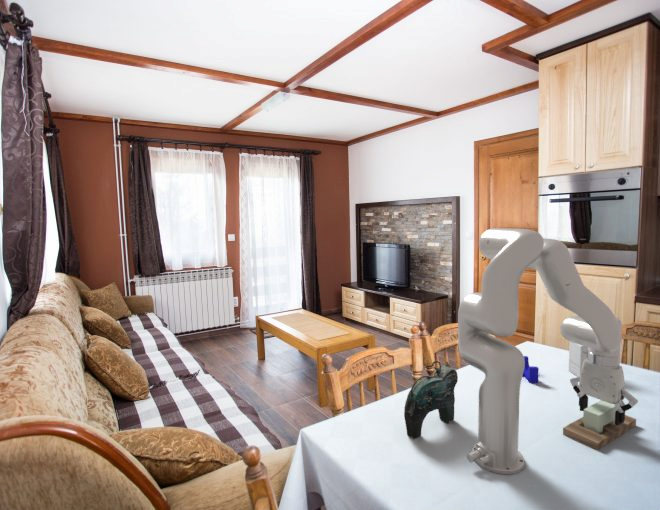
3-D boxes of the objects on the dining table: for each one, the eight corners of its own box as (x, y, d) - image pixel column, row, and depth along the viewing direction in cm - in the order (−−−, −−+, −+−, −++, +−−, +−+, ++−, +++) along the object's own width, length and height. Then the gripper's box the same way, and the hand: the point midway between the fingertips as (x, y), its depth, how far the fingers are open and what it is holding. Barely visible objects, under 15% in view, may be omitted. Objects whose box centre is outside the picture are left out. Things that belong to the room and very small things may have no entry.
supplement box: (599, 378, 146) (600, 345, 145) (579, 378, 146) (580, 346, 145) (586, 370, 153) (587, 339, 152) (567, 370, 153) (568, 339, 152)
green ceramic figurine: (446, 412, 124) (446, 352, 122) (462, 421, 119) (463, 358, 117) (400, 433, 114) (400, 368, 111) (417, 444, 108) (416, 375, 106)
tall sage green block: (597, 439, 108) (599, 415, 107) (582, 432, 111) (583, 409, 110) (617, 427, 113) (618, 404, 113) (601, 421, 117) (602, 399, 116)
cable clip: (514, 370, 156) (515, 355, 155) (526, 370, 155) (527, 356, 154) (525, 383, 144) (525, 367, 143) (538, 383, 143) (538, 368, 143)
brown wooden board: (597, 450, 103) (597, 443, 103) (562, 434, 111) (563, 427, 110) (635, 425, 114) (636, 419, 114) (601, 412, 122) (602, 406, 121)
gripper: (564, 352, 116) (562, 407, 117) (633, 372, 101) (629, 434, 103) (578, 347, 119) (576, 400, 121) (646, 365, 104) (642, 426, 106)
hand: (600, 416), depth 112 cm, fingers open, 8 cm apart
